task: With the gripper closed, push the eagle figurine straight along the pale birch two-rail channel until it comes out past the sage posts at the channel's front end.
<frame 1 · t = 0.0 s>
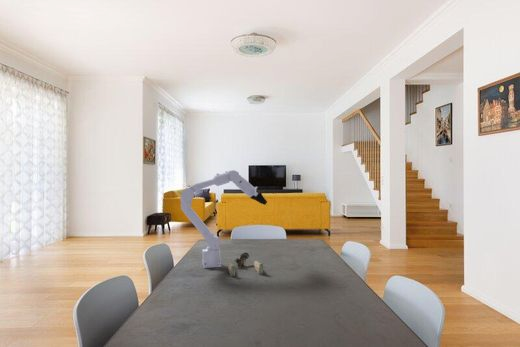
hand: (264, 202, 171), 32 cm above the table, tool tilted 50°, fingers open, 7 cm apart
eagle figurine: (241, 266, 164), on the table
rail channel: (244, 270, 155), on the table
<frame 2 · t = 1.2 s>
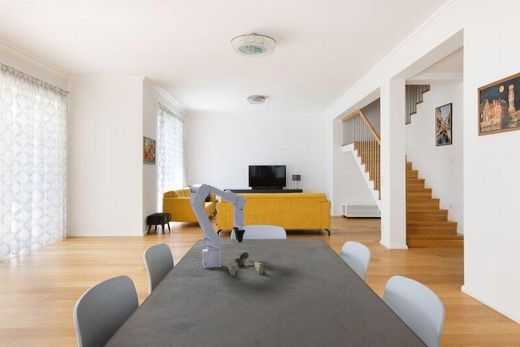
hand: (239, 240, 176), 11 cm above the table, tool pointing down, fingers open, 7 cm apart
nothing on the table moved.
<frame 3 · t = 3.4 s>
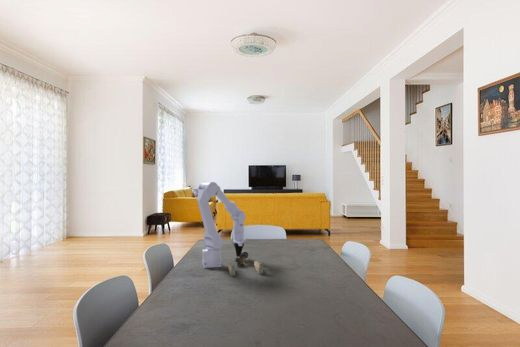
hand: (238, 256, 175), 2 cm above the table, tool pointing down, fingers closed
eagle figurine: (241, 265, 166), on the table
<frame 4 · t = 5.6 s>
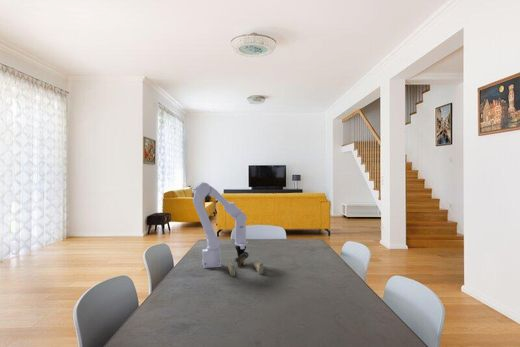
hand: (240, 259, 169), 2 cm above the table, tool pointing down, fingers closed
eagle figurine: (241, 265, 165), on the table, touching gripper
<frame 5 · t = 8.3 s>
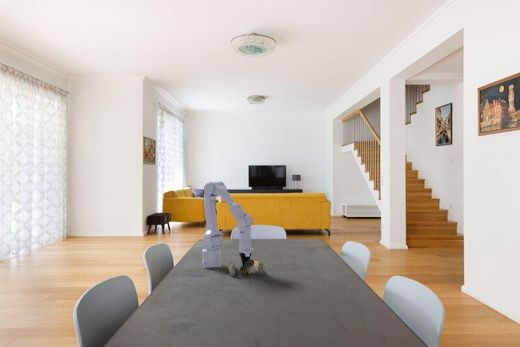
hand: (245, 267, 153), 2 cm above the table, tool pointing down, fingers closed
eagle figurine: (246, 274, 150), on the table, touching gripper
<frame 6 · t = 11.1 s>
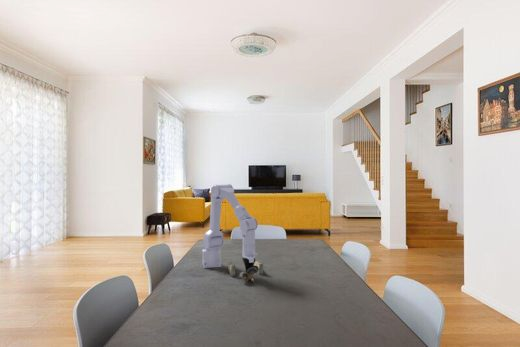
hand: (248, 274, 143), 2 cm above the table, tool pointing down, fingers closed
eagle figurine: (249, 281, 140), on the table, touching gripper
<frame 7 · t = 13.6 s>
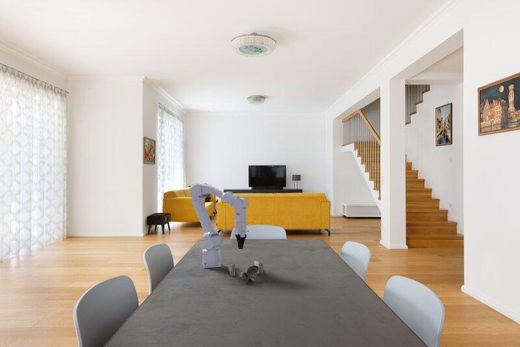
hand: (240, 248, 158), 10 cm above the table, tool pointing down, fingers closed
eagle figurine: (249, 281, 141), on the table
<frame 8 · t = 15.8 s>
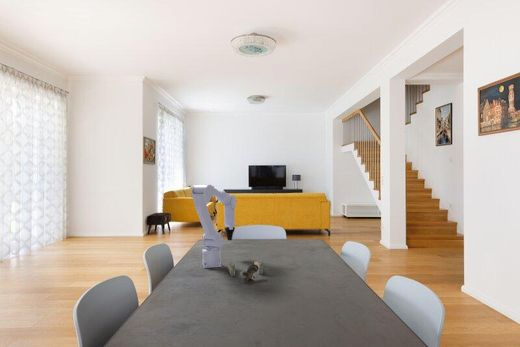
hand: (229, 240, 179), 10 cm above the table, tool pointing down, fingers closed
eagle figurine: (249, 280, 142), on the table
at the end: eagle figurine inside the target area (1.1 cm from its centre), on the table; eagle figurine tilted 0° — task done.
